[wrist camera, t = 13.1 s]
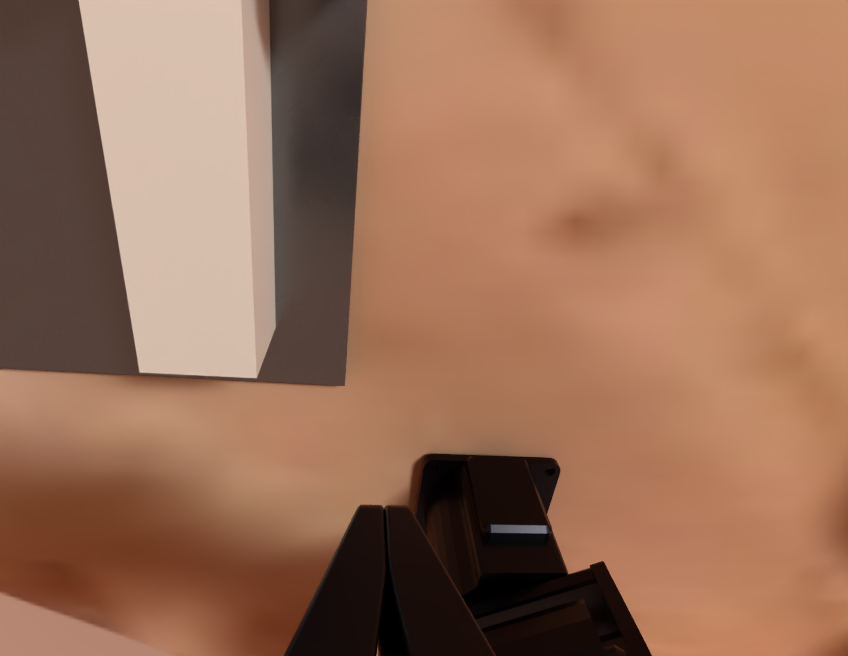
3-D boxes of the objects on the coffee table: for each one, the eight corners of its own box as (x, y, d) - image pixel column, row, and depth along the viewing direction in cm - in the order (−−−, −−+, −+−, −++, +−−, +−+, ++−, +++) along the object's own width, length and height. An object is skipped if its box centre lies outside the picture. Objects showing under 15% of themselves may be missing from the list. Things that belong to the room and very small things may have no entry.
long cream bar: (275, 327, 19) (256, 378, 16) (178, 321, 19) (139, 372, 16) (262, -337, 12) (221, -481, 8) (96, -374, 11) (-11, -540, 8)
